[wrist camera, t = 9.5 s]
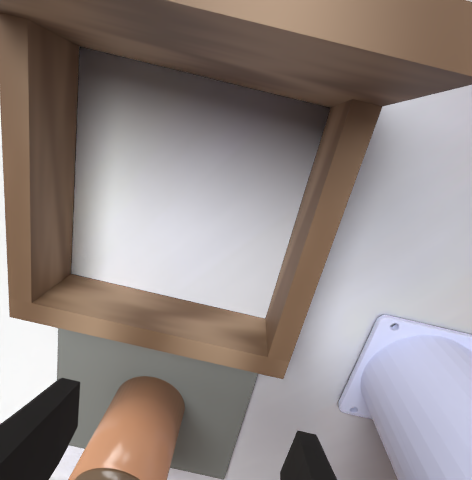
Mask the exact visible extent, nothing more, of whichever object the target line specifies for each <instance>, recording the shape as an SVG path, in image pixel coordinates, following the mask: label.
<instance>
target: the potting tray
mask: <svg viewBox="0 0 472 480" xmlns="http://www.w3.org/2000/svg"><path fill="white" fill-rule="evenodd" d="M79 46H80V47H84V48H89V49H93V50H97V51H101V52H105V53H109V54H113V55H117V56H121V57H125V58H129V59H133V60H138V61H142V62H146V63H150V64H154V65H158V66H162V67H166V68H170V69H174V70H178V71H183V72H187V73H191V74H195V75H199V76H203V77H207V78H211V79H215V80H219V81H223V82H227V83H232V84H236V85H240V86H244V87H248V88H252V89H256V90H260V91H264V92H268V93H272V94H276V95H281V96H285V97H289V98H293V99H297V100H301V101H305V102H309V103H313V104H317V105H321V106H325V107H330V111H329V114H328V118H327V121H326V124H325V127H324V131H323V134H322V137H321V140H320V144H319V147H318V150H317V153H316V157H315V160H314V163H313V166H312V170H311V173H310V176H309V179H308V182H307V186H306V189H305V192H304V195H303V199H302V202H301V205H300V208H299V212H298V215H297V218H296V221H295V225H294V228H293V231H292V234H291V238H290V241H289V244H288V247H287V250H286V254H285V257H284V260H283V263H282V267H281V270H280V273H279V276H278V280H277V283H276V286H275V289H274V293H273V296H272V299H271V302H270V306H269V309H268V312H267V315H266V318H265V319H263V318H259V317H255V316H250V315H246V314H242V313H237V312H233V311H229V310H225V309H220V308H216V307H212V306H207V305H203V304H199V303H194V302H190V301H186V300H181V299H177V298H173V297H168V296H164V295H160V294H155V293H151V292H147V291H142V290H138V289H134V288H129V287H125V286H121V285H116V284H112V283H108V282H103V281H99V280H95V279H90V278H86V277H82V276H77V275H73V274H71V255H72V229H73V202H74V176H75V150H76V123H77V97H78V70H79ZM468 85H472V2H470V1H466V0H0V105H1V127H2V150H3V173H4V196H5V219H6V242H7V264H8V287H9V310H10V317H13V318H17V319H21V320H26V321H30V322H35V323H39V324H43V325H48V326H52V327H57V328H61V329H65V330H70V331H74V332H79V333H83V334H87V335H92V336H96V337H100V338H105V339H109V340H114V341H118V342H122V343H127V344H131V345H136V346H140V347H144V348H149V349H153V350H158V351H162V352H166V353H171V354H175V355H179V356H184V357H188V358H193V359H197V360H201V361H206V362H210V363H215V364H219V365H223V366H228V367H232V368H237V369H241V370H245V371H250V372H254V373H258V374H263V375H267V376H272V377H276V378H280V379H283V378H284V375H285V373H286V370H287V367H288V364H289V362H290V359H291V356H292V353H293V351H294V348H295V345H296V342H297V340H298V337H299V334H300V331H301V329H302V326H303V323H304V320H305V318H306V315H307V312H308V309H309V307H310V304H311V301H312V298H313V296H314V293H315V290H316V287H317V285H318V282H319V279H320V276H321V274H322V271H323V268H324V265H325V263H326V260H327V257H328V254H329V252H330V249H331V246H332V243H333V241H334V238H335V235H336V232H337V230H338V227H339V224H340V221H341V219H342V216H343V213H344V210H345V208H346V205H347V202H348V199H349V197H350V194H351V191H352V188H353V186H354V183H355V180H356V177H357V175H358V172H359V169H360V166H361V164H362V161H363V158H364V155H365V153H366V150H367V147H368V144H369V142H370V139H371V136H372V133H373V131H374V128H375V125H376V122H377V120H378V117H379V114H380V111H381V109H382V106H386V105H390V104H394V103H398V102H402V101H407V100H411V99H415V98H419V97H423V96H427V95H431V94H435V93H439V92H443V91H447V90H451V89H456V88H460V87H464V86H468Z"/></svg>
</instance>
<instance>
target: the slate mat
mask: <svg viewBox="0 0 472 480" xmlns="http://www.w3.org/2000/svg"><path fill="white" fill-rule="evenodd" d="M141 376H149V377H155V378H159V379H161V380H164V381H166V382H168V383H169V384H171V385H172V386H173V387H175V388H176V389H177V390H178V392H179V393H180V394H181V396H182V398H183V400H184V404H185V411H184V415H183V419H182V423H181V427H180V431H179V434H178V438H177V442H176V446H175V450H174V454H173V457H172V461H171V465H170V468H174V469H179V470H183V471H188V472H192V473H197V474H201V475H206V476H210V477H215V478H220V479H224V478H225V475H226V472H227V468H228V465H229V462H230V459H231V456H232V453H233V450H234V447H235V444H236V441H237V438H238V434H239V431H240V428H241V425H242V422H243V419H244V416H245V413H246V410H247V407H248V404H249V400H250V397H251V394H252V391H253V388H254V385H255V382H256V379H257V376H258V373H254V372H250V371H245V370H241V369H237V368H232V367H228V366H223V365H219V364H215V363H210V362H206V361H201V360H197V359H193V358H188V357H184V356H179V355H175V354H171V353H166V352H162V351H158V350H153V349H149V348H144V347H140V346H136V345H131V344H127V343H122V342H118V341H114V340H109V339H105V338H100V337H96V336H92V335H87V334H83V333H79V332H74V331H70V330H65V329H61V328H58V363H57V380H58V379H60V378H66V379H70V380H75V381H79V382H80V397H79V415H78V427H77V429H76V431H75V433H74V435H73V437H72V439H71V441H70V443H69V445H70V446H75V447H79V448H84V449H85V448H86V446H87V445H88V443H89V441H90V439H91V437H92V436H93V434H94V432H95V430H96V428H97V427H98V425H99V423H100V421H101V419H102V418H103V416H104V414H105V412H106V410H107V408H108V407H109V405H110V403H111V401H112V399H113V398H114V396H115V394H116V392H117V390H118V389H119V387H120V386H121V385H122V384H123V383H124V382H125V381H127V380H129V379H132V378H135V377H141Z"/></svg>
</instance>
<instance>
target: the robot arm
mask: <svg viewBox="0 0 472 480" xmlns="http://www.w3.org/2000/svg"><path fill="white" fill-rule="evenodd" d="M394 323H396V325H395V326H393V327H390V326H391V325H392V324H394ZM79 397H80V382H79V381H75V380H70V379H66V378H60V379H58V380H57V381H56V382H55V383H53V384H52V385H51V386H50V387H48V388H47V389H46V390H44V391H43V392H42V393H41V394H39V395H38V396H37V397H36V398H34V399H33V400H32V401H30V402H29V403H28V404H27V405H25V406H24V407H23V408H21V409H20V410H19V411H17V412H16V413H15V414H13V415H12V416H11V417H9V418H8V419H7V420H5V421H4V422H3V423H1V424H0V480H49V478H50V477H51V475H52V473H53V472H54V470H55V469H56V467H57V465H58V464H59V462H60V460H61V458H62V456H63V455H64V453H65V451H66V449H67V447H68V445H69V443H70V441H71V439H72V437H73V435H74V433H75V431H76V429H77V427H78V415H79ZM338 406H339V409H340V411H341V412H343V413H347V414H352V415H356V416H360V417H365V418H369V419H373V422H374V424H375V426H376V429H377V431H378V434H379V436H380V438H381V441H382V443H383V445H384V448H385V450H386V453H387V455H388V457H389V460H390V462H391V465H392V467H393V469H394V472H395V474H396V477H397V479H398V480H472V335H471V334H467V333H463V332H458V331H454V330H450V329H445V328H441V327H437V326H433V325H428V324H424V323H420V322H415V321H411V320H407V319H403V318H398V317H394V316H390V315H382V316H380V317H378V319H377V320H376V322H375V324H374V327H373V329H372V331H371V333H370V335H369V337H368V340H367V342H366V344H365V346H364V348H363V350H362V353H361V355H360V357H359V359H358V361H357V363H356V365H355V368H354V370H353V372H352V374H351V376H350V378H349V381H348V383H347V385H346V387H345V389H344V391H343V394H342V396H341V398H340V400H339V402H338ZM352 407H353V408H352ZM280 480H337V478H336V476H335V474H334V472H333V470H332V468H331V466H330V464H329V461H328V459H327V457H326V455H325V453H324V450H323V448H322V446H321V444H320V442H319V440H318V437H317V436H316V435H315V434H310V433H306V432H301V431H297V433H296V436H295V438H294V440H293V443H292V445H291V448H290V450H289V452H288V455H287V457H286V460H285V462H284V464H283V467H282V469H281V472H280Z"/></svg>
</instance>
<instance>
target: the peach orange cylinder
mask: <svg viewBox="0 0 472 480" xmlns="http://www.w3.org/2000/svg"><path fill="white" fill-rule="evenodd" d="M184 411H185V404H184V400H183V398H182V396H181V394H180V393H179V392H178V390H177V389H176V388H175V387H173V386H172V385H171V384H169V383H168V382H166V381H164V380H161V379H159V378H155V377H149V376H141V377H135V378H132V379H129V380H127V381H125V382H124V383H123V384H122V385H121V386H120V387H119V389H118V390H117V392H116V394H115V396H114V398H113V399H112V401H111V403H110V405H109V407H108V408H107V410H106V412H105V414H104V416H103V418H102V419H101V421H100V423H99V425H98V427H97V428H96V430H95V432H94V434H93V436H92V437H91V439H90V441H89V443H88V445H87V446H86V448H85V450H84V452H83V454H82V456H81V457H80V459H79V461H78V463H77V465H76V466H75V468H74V470H73V472H72V474H71V475H70V477H69V479H68V480H167V477H168V473H169V469H170V465H171V461H172V457H173V454H174V450H175V446H176V442H177V438H178V434H179V431H180V427H181V423H182V419H183V415H184Z"/></svg>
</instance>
